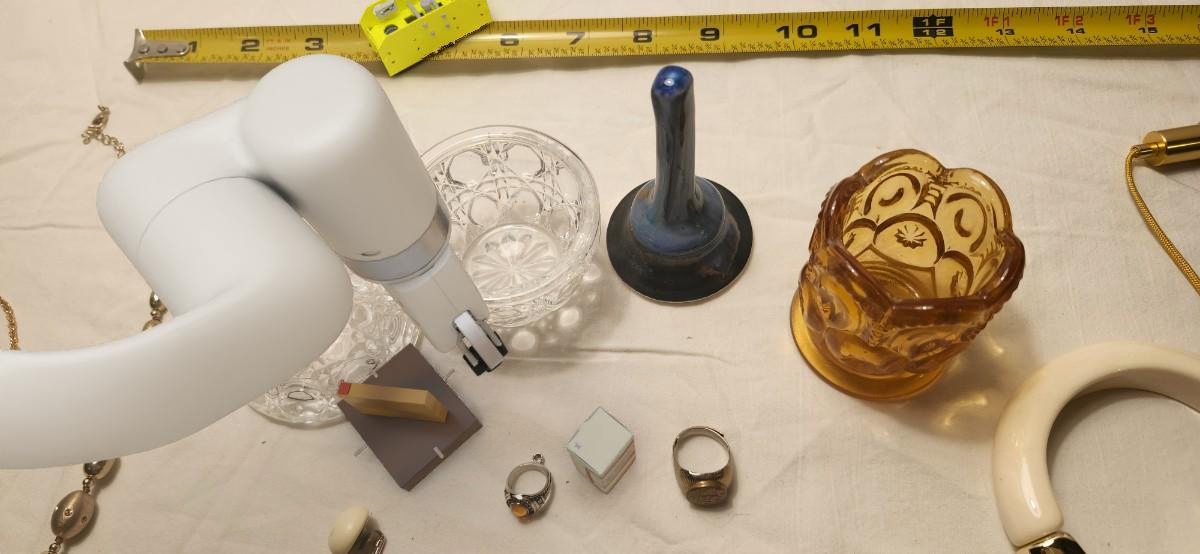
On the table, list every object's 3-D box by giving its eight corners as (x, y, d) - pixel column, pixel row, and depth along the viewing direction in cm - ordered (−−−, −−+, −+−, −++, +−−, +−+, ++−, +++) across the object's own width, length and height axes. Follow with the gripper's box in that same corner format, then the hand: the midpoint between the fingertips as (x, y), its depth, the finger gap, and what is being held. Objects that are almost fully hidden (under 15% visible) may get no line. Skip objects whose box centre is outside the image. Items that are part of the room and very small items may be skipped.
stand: (498, 419, 79) (492, 413, 77) (399, 507, 76) (390, 503, 74) (425, 336, 84) (418, 328, 82) (330, 416, 81) (319, 409, 79)
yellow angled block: (448, 409, 77) (427, 389, 71) (445, 422, 77) (424, 403, 70) (366, 400, 79) (339, 380, 72) (363, 413, 78) (335, 394, 72)
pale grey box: (607, 496, 75) (598, 478, 66) (574, 468, 76) (561, 447, 67) (640, 456, 76) (635, 433, 67) (607, 429, 78) (598, 403, 68)
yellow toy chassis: (475, 2, 105) (460, -46, 98) (495, 26, 103) (480, -21, 96) (376, 55, 103) (352, 10, 95) (393, 81, 101) (370, 37, 93)
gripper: (274, 173, 50) (368, 280, 65) (413, 354, 43) (481, 426, 59) (366, 110, 52) (437, 229, 67) (514, 276, 45) (555, 366, 60)
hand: (458, 321), depth 63 cm, fingers open, 9 cm apart
